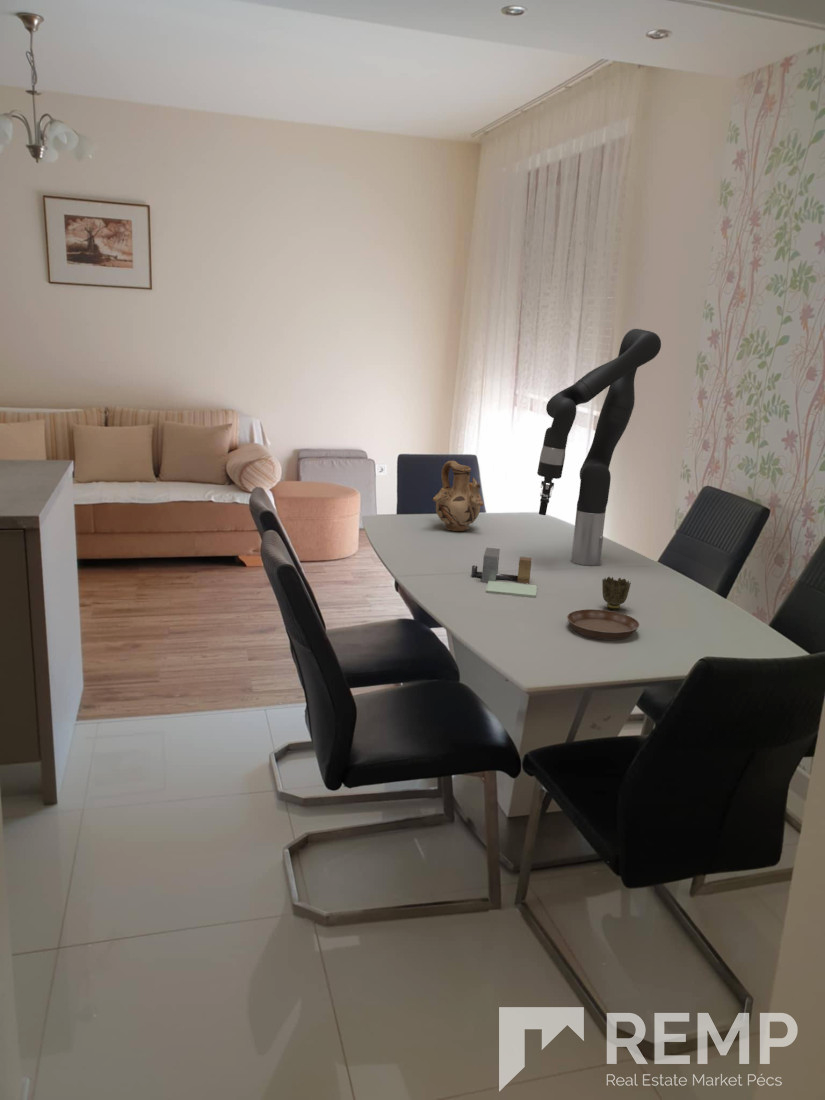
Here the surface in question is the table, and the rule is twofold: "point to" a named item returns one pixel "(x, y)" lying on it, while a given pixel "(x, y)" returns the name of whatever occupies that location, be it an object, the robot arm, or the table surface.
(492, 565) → the slotted metal block
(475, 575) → the wooden head mallet
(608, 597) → the cup
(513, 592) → the mat
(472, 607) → the table surface
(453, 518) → the ceramic vessel
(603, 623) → the plant saucer
